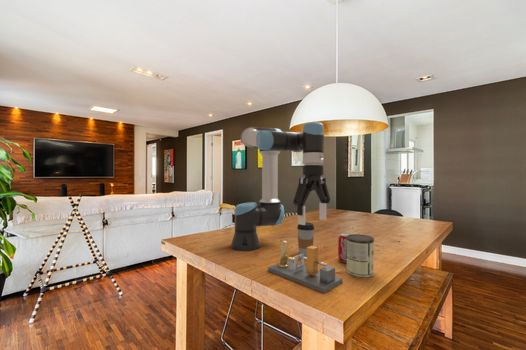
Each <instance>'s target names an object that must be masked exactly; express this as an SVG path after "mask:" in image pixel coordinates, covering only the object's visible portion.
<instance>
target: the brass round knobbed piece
mask: <svg viewBox="0 0 526 350" xmlns="http://www.w3.org/2000/svg"><path fill="white" fill-rule="evenodd" d="M287 260H288V261H291V262H294V257H290V256H288V240H285V239H282V240H280V241H279V262H278V263H277V264H278V267H281V268H287V267H289V266H290V264H289V263H287Z"/></svg>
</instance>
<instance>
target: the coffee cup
mask: <svg viewBox="0 0 526 350" xmlns="http://www.w3.org/2000/svg"><path fill="white" fill-rule="evenodd" d="M314 233H315V226H314V223H312V222H306V221H305V225H300V224H298V223H297V240H298V241H297V242H298V243H297V244H298V246H297V247H298V253H299V254H302V253H303V254H304V257H306V254H307V247H309V246H314V240H315V239H314V237H315V234H314ZM299 254H298V255H299Z"/></svg>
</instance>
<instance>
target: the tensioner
mask: <svg viewBox="0 0 526 350" xmlns="http://www.w3.org/2000/svg"><path fill="white" fill-rule="evenodd" d="M319 271H320V282H322V283H324V284H329V283H331V282H333V281H335V276H336V267H334V266H330V265H328V266H324V267H321V268H319Z"/></svg>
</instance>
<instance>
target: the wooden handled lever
mask: <svg viewBox="0 0 526 350" xmlns="http://www.w3.org/2000/svg"><path fill="white" fill-rule="evenodd" d="M293 258H294V271H297V270H299V269H302V268H304V266H306V273H307V274H310V275H312V276H314V275H316V274H318V270H319V269H318V268H319V265H320V266H321V265H322V266H324V267H325V266H329V264H328V263H326V262H322V261H319V247H317V246H314V245H313V246H309V247H307V254H306V257H305V256H304V254H303V253H302V254H297V255H294V256H293ZM298 260H300V265H299V266H298V264H299V263H298V262H299V261H298ZM305 263H306V265H305Z"/></svg>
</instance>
